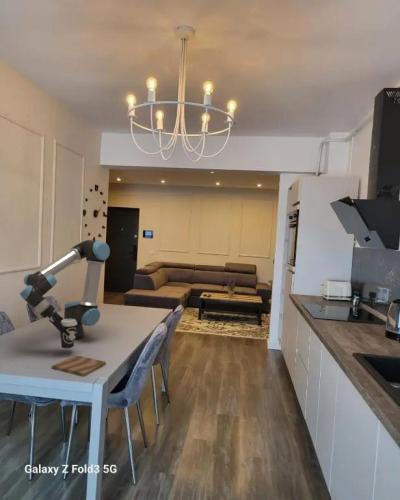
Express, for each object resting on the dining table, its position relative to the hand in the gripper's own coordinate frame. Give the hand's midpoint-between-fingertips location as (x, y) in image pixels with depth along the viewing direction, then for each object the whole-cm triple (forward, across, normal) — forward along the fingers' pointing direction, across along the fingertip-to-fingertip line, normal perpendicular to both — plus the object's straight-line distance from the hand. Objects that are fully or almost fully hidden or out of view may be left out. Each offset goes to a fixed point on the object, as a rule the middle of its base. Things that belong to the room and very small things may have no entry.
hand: (74, 336), depth 201 cm
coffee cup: (+2, 0, -6) cm, 7 cm away
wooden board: (+10, +20, -4) cm, 23 cm away
